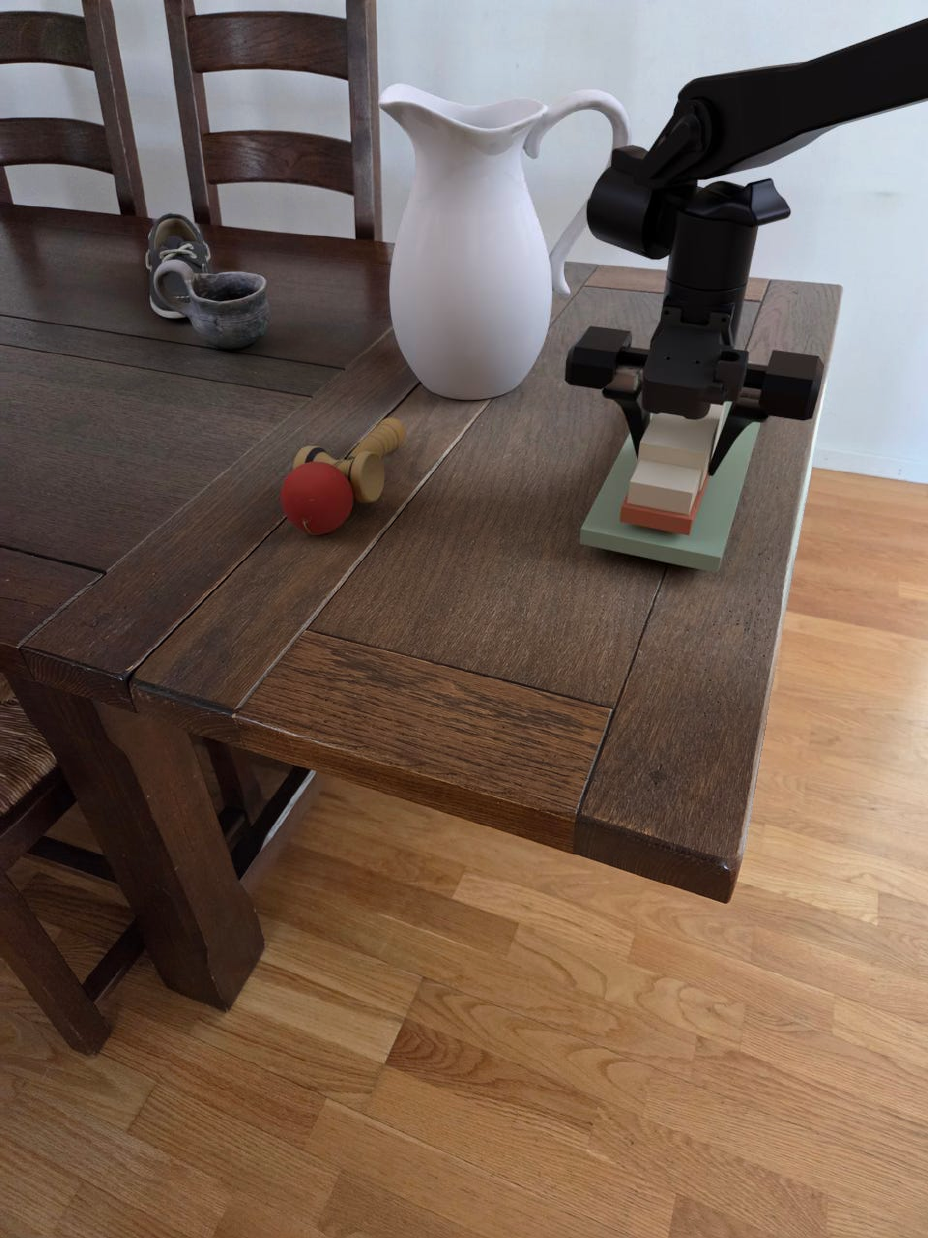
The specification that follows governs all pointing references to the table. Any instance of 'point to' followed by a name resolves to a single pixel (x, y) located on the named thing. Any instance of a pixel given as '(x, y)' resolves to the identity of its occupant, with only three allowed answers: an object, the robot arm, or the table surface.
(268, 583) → the table surface
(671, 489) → the stepped block on base
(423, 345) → the pitcher
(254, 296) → the mug
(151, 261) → the boat shoe
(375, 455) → the kendama
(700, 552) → the flat pale green board
